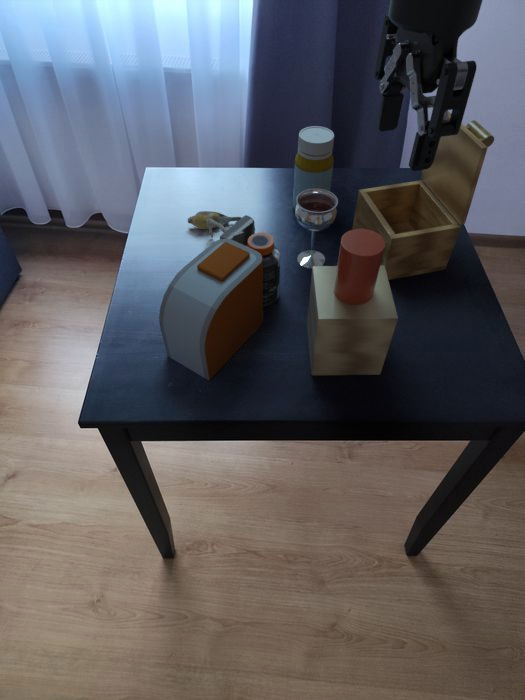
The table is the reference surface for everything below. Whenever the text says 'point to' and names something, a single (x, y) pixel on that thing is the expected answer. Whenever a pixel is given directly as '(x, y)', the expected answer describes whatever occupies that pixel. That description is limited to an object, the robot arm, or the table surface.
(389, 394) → the table surface
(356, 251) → the spice tin
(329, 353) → the block
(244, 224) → the decorative sculpture
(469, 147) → the lid
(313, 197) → the wineglass
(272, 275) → the pill bottle
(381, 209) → the box
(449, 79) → the robot arm
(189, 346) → the alarm clock
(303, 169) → the bottle
